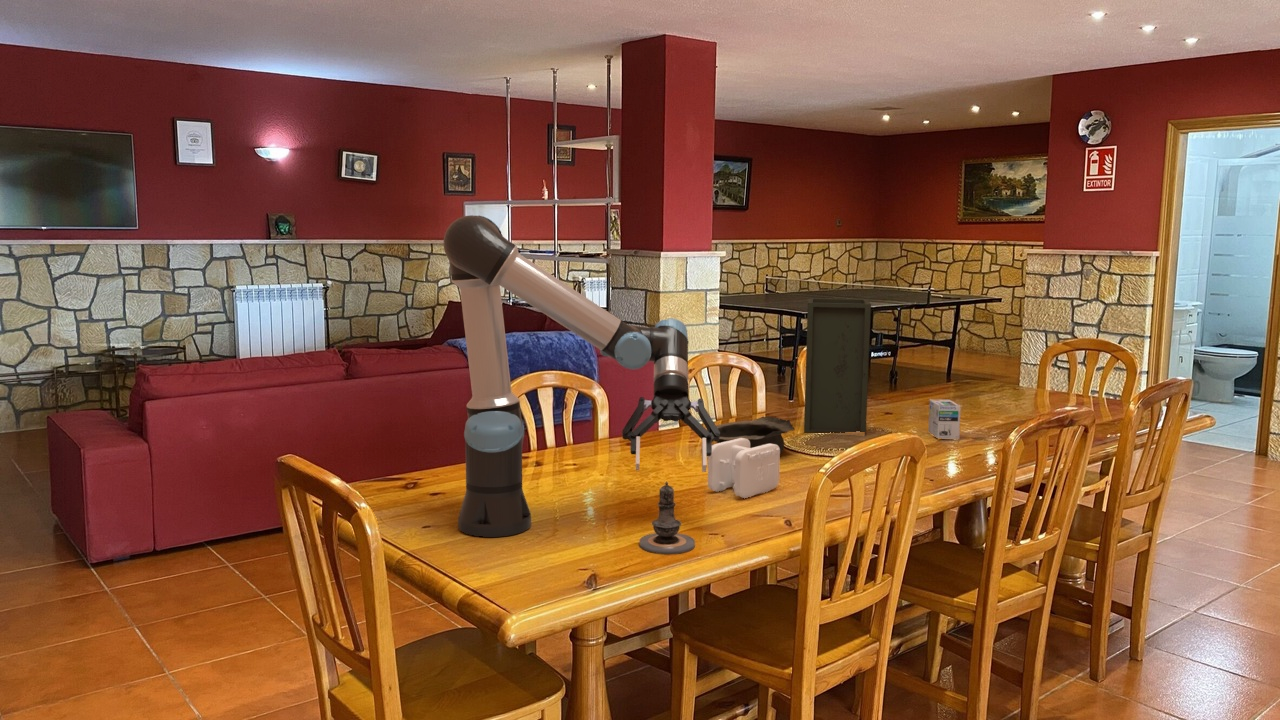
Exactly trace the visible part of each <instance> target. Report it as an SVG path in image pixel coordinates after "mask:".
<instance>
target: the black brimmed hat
mask: <svg viewBox="0 0 1280 720" xmlns="http://www.w3.org/2000/svg"><path fill="white" fill-rule="evenodd" d="M716 427H717V428H718V430H719V432H720V438H719V441H717V442H716V444H717V443H721V442H726V441H730V440H734V439H738V438H745V439H748V440H749V441H750V448H753V447H757V446H761V445H765V444H769V443H770V444H775V445H778V446H779V448H780V455H781V454H782V453H783V452H784V449H785V442H784V437H783V436H782V434H787V433H788V432H790V431H794V430H796V429H795V427H794V425H793V424H792V422H791V420H790V419H782V418H779V417H776V416H760V417H759V418H754V419H753V420H741V421H740V420H739V421H732V422H725V423H723V424H717V425H716ZM706 430H707V429H706ZM707 431H708V430H707ZM708 432H709V431H708Z"/></svg>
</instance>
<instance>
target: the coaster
mask: <svg viewBox="0 0 1280 720" xmlns="http://www.w3.org/2000/svg"><path fill="white" fill-rule="evenodd" d="M656 536H659V535H657V534H656V533H655V532H653V533H648V534H645V535H644V536H642V537H640V539H639V548H640V549H642V550H644V551H646V552H647V553H653V554H657V555H678V554H684V553H688V552H690V551H692V550H694V549H695V546H696V541H695V539H694V538H693V537H691V536H689V535H687V534H683V533H680V532H678V533H677V534H676V535H674V536H676V537H678V538H679V539H680V541H679V542H678V543H676V544H670V545H663V544H658V543H655V542H654V541H653V539H654V538H655V537H656Z"/></svg>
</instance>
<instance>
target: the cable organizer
mask: <svg viewBox="0 0 1280 720" xmlns="http://www.w3.org/2000/svg"><path fill="white" fill-rule="evenodd" d="M780 456H781V454H780V448H779V446H778V445H775V444H770V443H769V444H765V445H761V446H757V447H753V448H750V441H749V440H748V439H745V438H738V439H734V440H730V441H726V442H721V443H717V442H716V443H714V444H712V453H711V456H707V487H708V488H709V490H712V491H714V492H715V493H719V491H720V492H722V491H725V490H726V489H727V488H728V489H729V488H731V487H732V489H733V492H734V495H736V496H737V497H740V498H741V499H743V498H744V500H746V499H745V498H747V499H749V498H748V497H750V498H752V497H751V496H753V497H754V496H755V495H759V494H762V493H763V494H766V493H769V492H771V490H774V489H776V488H777V487H778V485H779V481H780V458H781V457H780ZM768 491H769V492H768ZM765 492H766V493H765Z"/></svg>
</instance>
